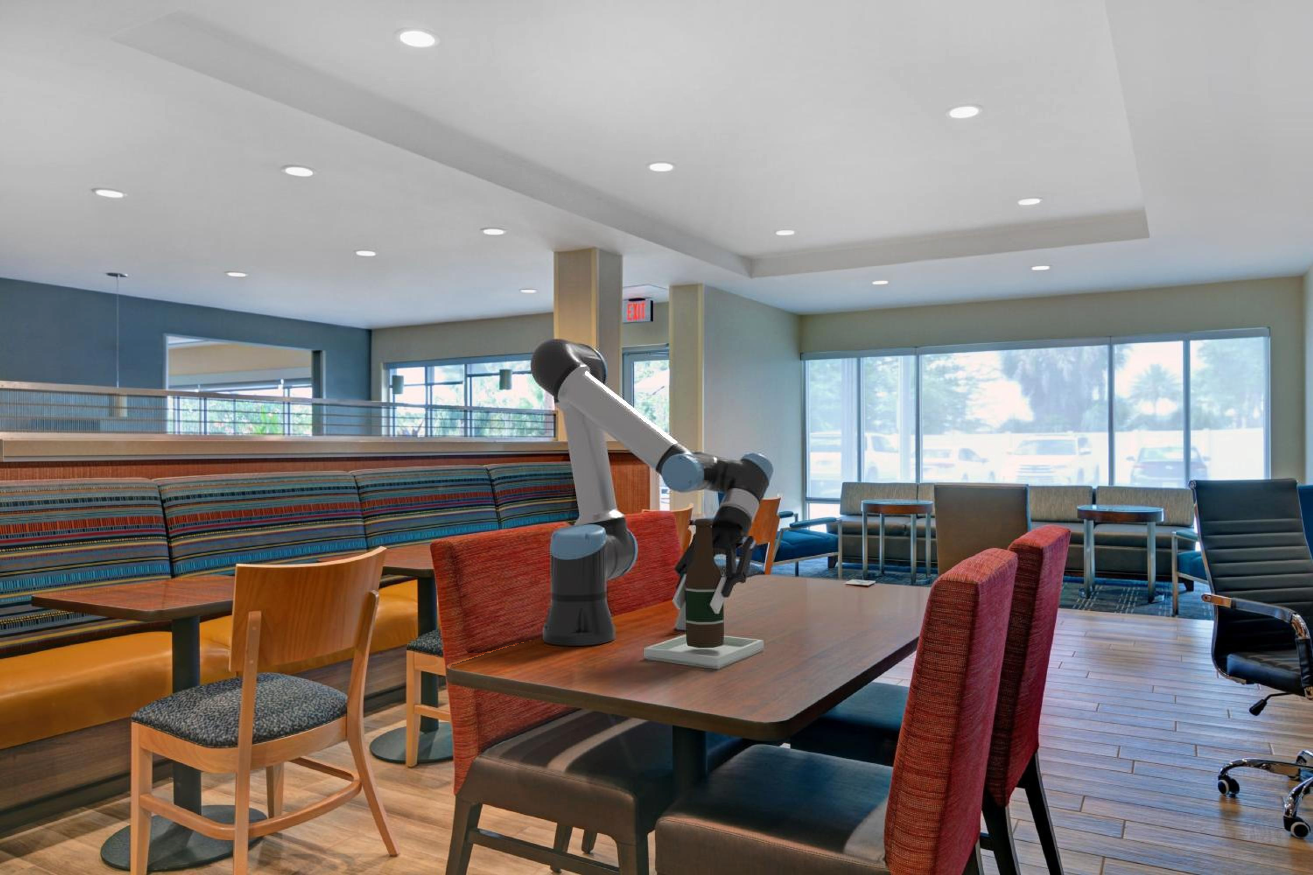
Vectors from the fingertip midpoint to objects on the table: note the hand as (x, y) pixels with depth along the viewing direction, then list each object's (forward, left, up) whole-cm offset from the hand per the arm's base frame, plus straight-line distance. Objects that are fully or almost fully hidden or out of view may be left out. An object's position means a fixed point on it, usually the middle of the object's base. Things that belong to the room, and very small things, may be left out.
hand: (695, 607), depth 169 cm
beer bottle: (0, +3, -8) cm, 8 cm away
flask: (-16, +24, -10) cm, 31 cm away
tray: (0, +3, -10) cm, 10 cm away
